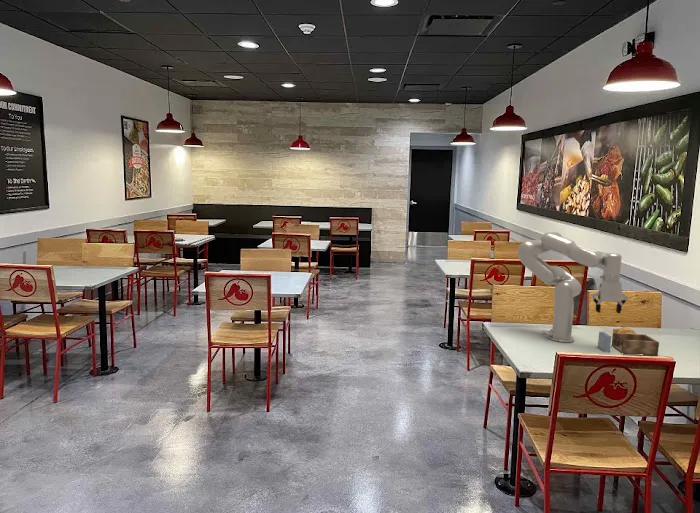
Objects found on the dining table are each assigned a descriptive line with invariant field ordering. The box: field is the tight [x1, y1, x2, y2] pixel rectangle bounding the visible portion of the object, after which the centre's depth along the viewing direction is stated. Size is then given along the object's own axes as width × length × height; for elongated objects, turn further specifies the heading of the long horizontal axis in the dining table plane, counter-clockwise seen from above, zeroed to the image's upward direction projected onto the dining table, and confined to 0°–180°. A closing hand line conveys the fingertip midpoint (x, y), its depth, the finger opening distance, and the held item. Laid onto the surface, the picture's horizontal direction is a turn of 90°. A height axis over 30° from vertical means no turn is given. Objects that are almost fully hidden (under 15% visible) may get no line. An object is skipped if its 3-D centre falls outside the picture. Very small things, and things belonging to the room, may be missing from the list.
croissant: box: [612, 326, 637, 334], centre depth 280 cm, size 21×10×8 cm, turn 7°
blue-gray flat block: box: [597, 330, 612, 353], centre depth 259 cm, size 3×9×8 cm, turn 175°
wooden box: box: [611, 332, 660, 357], centre depth 258 cm, size 16×14×7 cm
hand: (608, 312), depth 258 cm, fingers open, 9 cm apart
